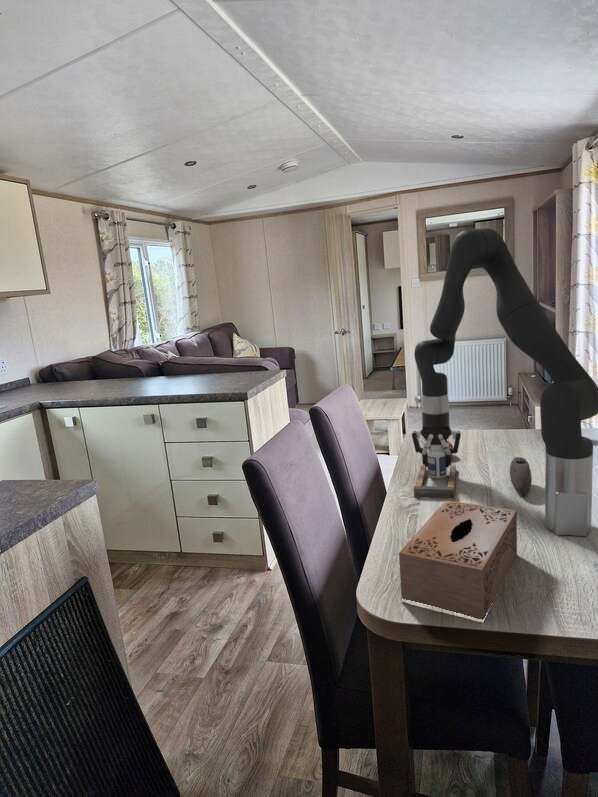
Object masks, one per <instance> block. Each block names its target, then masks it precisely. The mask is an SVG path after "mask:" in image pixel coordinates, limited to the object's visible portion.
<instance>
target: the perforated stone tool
mask: <svg viewBox="0 0 598 797" xmlns="http://www.w3.org/2000/svg"><path fill="white" fill-rule="evenodd" d="M509 477H510V481H511V484H512V487H513V488H514V490H515V492H516V493H517V494H518V495H519V496H522V497H524V496H526V495H528V494H529V493H530V491H531V488H532V481H533V478H532V471H531V468H530V464H529V462H528V460H527V459H526V458H524V457H520V456H516V457H514V458H513V459H512V460H511V463H510V464H509Z"/></svg>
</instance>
